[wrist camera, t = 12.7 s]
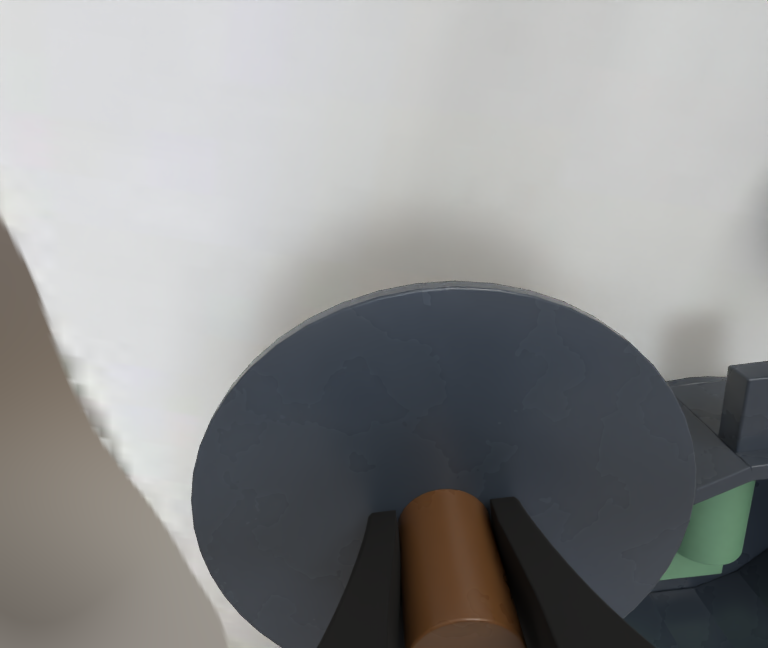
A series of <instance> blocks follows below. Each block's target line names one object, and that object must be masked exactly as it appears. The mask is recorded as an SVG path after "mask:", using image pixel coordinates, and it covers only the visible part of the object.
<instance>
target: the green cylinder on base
mask: <svg viewBox="0 0 768 648" xmlns="http://www.w3.org/2000/svg"><path fill="white" fill-rule="evenodd" d="M755 482H756V480H755V481H750V482H748V483H746V484H743V485H741V486H738V487H736V488H733V489H731V490H729V491H726V492H724V493H721V494H719V495H717V496H714V497H712V498H709V499H707V500H704V501H702V502H700V503H697V504H695V505H693V508H692V513H691V517H690V522H689V524H688V527H687V530H686V532H685V535H684V538H683V540H682V543H681V546H680V547H679V549H678V551H677V553H676V555H675V557H674V558H673V560H672V562H671V564H670V566H669V567H668V569H667V570H666V572H665V573H664V575H663V576H662V577H661V579H660V580H667V579H676V578H686V577H695V576H704V575H713V574H721V573H722V567H723V565H725V564H729V563H731V562H733V561H735V560H736V559H738V558H739V556H740V555H741V553H742V549H743V544H744V539H745V533H746V528H747V523H748V518H749V513H750V507H751V502H752V497H753V492H754V487H755Z"/></svg>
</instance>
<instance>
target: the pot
mask: <svg viewBox="0 0 768 648" xmlns="http://www.w3.org/2000/svg"><path fill="white" fill-rule="evenodd" d="M666 383H667V384H668V385H669V387H670V388H671V389H672V391H673V393H674V395H675V397H676V399H677V401H678V403H679V405H680V407H681V409H682V411H683V413H684V415H685V418H686V421H687V424H688V428H689V431H690V434H691V437H692V441H693V447H694V455H695V463H696V487H695V499H694V503H693V505H695V504H697V503H700V502H702V501H704V500H707V499H709V498H712V497H714V496H717V495H719V494H721V493H724V492H726V491H729V490H731V489H733V488H736V487H738V486H741V485H743V484H746V483H748V482H750V481H755V480H756V482H755V487H754V492H753V497H752V502H751V507H750V513H749V518H748V523H747V528H746V533H745V539H744V544H743V549H742V553H741V555H740V556H739V558H738V559H736V560H735V561H733V562H731V563H729V564H725V565H723V567H722V573H721V574H713V575H704V576H695V577H686V578H676V579H667V580H659V581H658V583H657V584H656V585H655V587H654V588H653V589H652V591H651V592H650V593H649V594H648V595H647V596H646V597H645V598H644V599H643V600H642V601H641V602H640V603H639V604H638V606H637V607H636V608H635V609H634V610H633V611H631V612H630V613H629V614H628V615H627V616H626V617H624V618H623V619H624V620H625V621H626V622H627V623H628V624H629V625H630V626H631V627H632V628H634V629H635V630H636V631H637V632H638V633H639V634H641V635H642V636H643V637H644V638H645V639H646V640H648V641H649V642H650V643H651V644H652V645H654V646H655V647H656V648H768V361H763V362H755V363H747V364H739V365H731V366H729V367H728V373H727V377H709V376H707V377H692V378H684V379H678V380H673V381H668V382H666Z"/></svg>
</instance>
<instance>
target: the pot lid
mask: <svg viewBox="0 0 768 648" xmlns="http://www.w3.org/2000/svg"><path fill="white" fill-rule="evenodd" d="M695 487H696V463H695V455H694V447H693V441H692V437H691V434H690V431H689V428H688V424H687V421H686V418H685V415H684V413H683V411H682V409H681V407H680V405H679V403H678V401H677V399H676V397H675V395H674V393H673V391H672V389H671V388H670V387H669V385H668V384H667V383H666V381H665V380H664V379H663V377H662V376H661V375H660V373H659V372H658V371H657V369H656V368H655V367H654V365H653V364H652V363H651V362H650V361H649V360H648V359H647V358H646V357H645V356H643V355H642V354H641V353H640V352H639V351H638V350H637V349H636V348H635V347H634V346H633V345H632V344H631V343H630V342H629V341H628V340H626V339H625V338H624V337H623V336H622V335H620V334H619V333H617V332H616V331H615V330H613V329H612V328H610V327H609V326H607V325H606V324H605V323H603V322H602V321H600V320H599V319H597V318H596V317H594V316H592V315H590V314H588V313H586V312H584V311H582V310H580V309H578V308H576V307H574V306H572V305H570V304H568V303H566V302H564V301H561V300H558V299H555V298H552V297H549V296H546V295H543V294H540V293H537V292H534V291H531V290H526V289H521V288H516V287H511V286H505V285H500V284H495V283H482V282H465V281H445V282H431V283H416V284H411V285H406V286H400V287H395V288H390V289H385V290H380V291H376V292H373V293H370V294H367V295H364V296H361V297H358V298H355V299H352V300H349V301H346V302H343V303H340V304H338V305H336V306H334V307H332V308H330V309H328V310H326V311H324V312H321V313H319V314H317V315H315V316H313V317H311V318H309V319H307V320H306V321H304V322H303V323H301V324H300V325H298V326H297V327H295V328H293V329H292V330H290V331H289V332H287V333H286V334H284V335H283V336H281V337H280V338H278V339H277V340H276V341H275V342H274V343H273V344H271V345H270V346H269V347H268V348H267V349H266V350H264V351H263V352H262V353H261V354H260V355H259V356H257V357H256V358H255V359H254V360H253V361H252V362H251V363H250V365H249V366H248V367H247V368H246V369H245V370H244V371H243V373H242V374H241V375H240V376H239V377H238V378H237V380H236V381H235V382H234V383H233V384H232V386H231V387H230V389H229V390H228V392H227V394H226V395H225V397H224V398H223V400H222V402H221V403H220V405H219V406H218V408H217V409H216V411H215V413H214V415H213V417H212V419H211V421H210V423H209V425H208V428H207V430H206V432H205V435H204V437H203V440H202V442H201V444H200V447H199V451H198V455H197V459H196V463H195V467H194V472H193V481H192V496H191V503H192V514H193V524H194V530H195V533H196V537H197V541H198V545H199V548H200V552H201V554H202V556H203V559H204V561H205V563H206V565H207V568H208V570H209V572H210V574H211V576H212V578H213V579H214V581H215V582H216V584H217V585H218V587H219V589H220V590H221V592H222V593H223V595H224V596H225V597H226V599H227V600H228V601H229V602H230V603H231V604H232V606H233V607H234V608H235V609H236V610H237V611H238V613H239V614H240V615H241V616H242V617H243V618H244V619H246V620H247V621H248V622H249V623H250V624H251V625H252V626H253V627H254V628H256V629H257V630H258V631H259V632H260V633H262V634H263V635H264V636H266V637H267V638H269V639H270V640H272V641H273V642H274V643H276V644H277V645H279V646H280V647H282V648H317V646H318V645H319V643H320V641H321V639H322V637H323V635H324V633H325V631H326V629H327V627H328V625H329V623H330V621H331V619H332V617H333V615H334V613H335V611H336V608H337V606H338V604H339V602H340V599H341V597H342V595H343V593H344V590H345V588H346V586H347V583H348V581H349V578H350V575H351V573H352V570H353V567H354V565H355V562H356V559H357V556H358V553H359V550H360V547H361V544H362V541H363V538H364V534H365V530H366V526H367V521H368V517H369V516H370V514H371V513H375V512H383V511H392V510H396V516H397V522H398V529H399V542H400V560H401V592H402V610H403V628H404V646H405V648H527V645H526V642H525V638H524V635H523V631H522V628H521V624H520V621H519V617H518V614H517V611H516V607H515V604H514V600H513V597H512V593H511V590H510V586H509V583H508V579H507V576H506V572H505V569H504V565H503V562H502V559H501V555H500V552H499V548H498V545H497V541H496V538H495V534H494V531H493V527H492V524H491V510H490V499H496V498H505V497H515V498H517V499H518V500H519V501H520V503H521V505H522V506H523V507H524V509H525V510H526V512H527V513H528V515H529V516H530V517H531V519H532V520H533V521H534V523H535V524H536V525H537V527H538V528H539V529H540V530H541V532H542V533H543V534H544V536H545V537H546V538H547V539H548V541H549V542H550V543H551V544H552V545H553V547H554V548H555V549H556V550H557V551H558V552H559V554H560V555H561V556H562V557H563V558H564V559H565V560H566V562H567V563H568V564H569V565H570V566H571V567H572V568H573V569H574V571H575V572H576V573H577V574H578V575H579V576H580V577H581V578H582V579H583V580H584V581H585V582H586V583H587V584H588V585H589V586H590V588H591V589H592V590H593V591H594V592H595V593H596V594H597V595H598V596H599V597H600V598H601V599H602V600H603V601H604V602H605V603H606V604H608V605H609V606H610V607H611V608H612V609H613V610H614V611H615V612H616V613H617V614H618V615H619V616H620V617H621V618H624V617H626V616H627V615H628V614H629V613H630V612H631V611H633V610H634V609H635V608H636V607H637V606H638V604H639V603H640V602H641V601H642V600H643V599H644V598H645V597H646V596H647V595H648V594H649V593H650V592H651V591H652V589H653V588H654V587H655V585H656V584H657V583H658V581H659V580H660V579H661V577H662V576H663V575H664V573H665V572H666V570H667V569H668V567H669V566H670V564H671V562H672V560H673V558H674V557H675V555H676V553H677V551H678V549H679V547H680V546H681V543H682V540H683V538H684V535H685V532H686V530H687V527H688V524H689V522H690V517H691V513H692V508H693V503H694V499H695Z"/></svg>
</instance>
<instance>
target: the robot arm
mask: <svg viewBox="0 0 768 648" xmlns="http://www.w3.org/2000/svg"><path fill="white" fill-rule="evenodd" d="M490 510H491V524H492V527H493V531H494V534H495V538H496V541H497V545H498V548H499V552H500V555H501V559H502V562H503V565H504V569H505V572H506V576H507V579H508V583H509V586H510V590H511V593H512V597H513V600H514V604H515V607H516V611H517V614H518V617H519V621H520V624H521V628H522V631H523V635H524V638H525V642H526V645H527V648H656V647H655V646H654V645H652V644H651V643H650V642H649V641H648V640H646V639H645V638H644V637H643V636H642V635H641V634H639V633H638V632H637V631H636V630H635V629H634V628H632V627H631V626H630V625H629V624H628V623H627V622H626V621H625V620H624V619H623V618H621V617H620V616H619V615H618V614H617V613H616V612H615V611H614V610H613V609H612V608H611V607H610V606H609V605H608V604H606V603H605V602H604V601H603V600H602V599H601V598H600V597H599V596H598V595H597V594H596V593H595V592H594V591H593V590H592V589H591V588H590V586H589V585H588V584H587V583H586V582H585V581H584V580H583V579H582V578H581V577H580V576H579V575H578V574H577V573H576V572H575V571H574V569H573V568H572V567H571V566H570V565H569V564H568V563H567V562H566V560H565V559H564V558H563V557H562V556H561V555H560V554H559V552H558V551H557V550H556V549H555V548H554V547H553V545H552V544H551V543H550V542H549V541H548V539H547V538H546V537H545V536H544V534H543V533H542V532H541V530H540V529H539V528H538V527H537V525H536V524H535V523H534V521H533V520H532V519H531V517H530V516H529V515H528V513H527V512H526V510H525V509H524V507H523V506H522V505H521V503H520V501H519V500H518V499H517V498H515V497H505V498H496V499H490ZM317 648H405V646H404V628H403V610H402V592H401V560H400V542H399V529H398V522H397V516H396V510H392V511H383V512H375V513H371V514H370V516H369V517H368V521H367V526H366V530H365V534H364V538H363V541H362V544H361V547H360V550H359V553H358V556H357V559H356V562H355V565H354V567H353V570H352V573H351V575H350V578H349V581H348V583H347V586H346V588H345V590H344V593H343V595H342V597H341V599H340V602H339V604H338V606H337V608H336V611H335V613H334V615H333V617H332V619H331V621H330V623H329V625H328V627H327V629H326V631H325V633H324V635H323V637H322V639H321V641H320V643H319V645H318V646H317Z"/></svg>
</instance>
